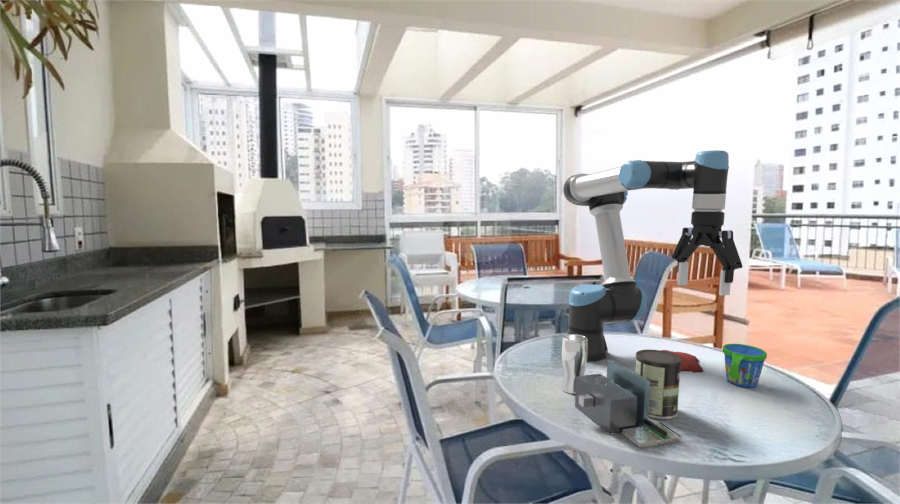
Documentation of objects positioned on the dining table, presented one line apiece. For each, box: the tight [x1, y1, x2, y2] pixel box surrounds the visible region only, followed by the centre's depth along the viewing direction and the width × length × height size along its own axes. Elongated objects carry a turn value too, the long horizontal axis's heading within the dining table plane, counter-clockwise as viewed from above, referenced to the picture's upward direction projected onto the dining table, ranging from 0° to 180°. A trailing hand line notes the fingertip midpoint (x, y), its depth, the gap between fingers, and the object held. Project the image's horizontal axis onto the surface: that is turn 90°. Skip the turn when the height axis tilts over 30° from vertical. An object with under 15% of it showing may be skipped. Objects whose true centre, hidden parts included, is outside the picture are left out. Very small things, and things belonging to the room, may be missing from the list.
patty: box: [660, 349, 704, 373], centre depth 144 cm, size 18×14×2 cm
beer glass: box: [561, 333, 588, 395], centre depth 121 cm, size 7×7×15 cm
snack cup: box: [722, 343, 768, 388], centre depth 127 cm, size 16×10×10 cm
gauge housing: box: [574, 373, 682, 449], centre depth 104 cm, size 20×14×8 cm, turn 16°
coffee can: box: [634, 349, 681, 420], centre depth 110 cm, size 10×10×14 cm
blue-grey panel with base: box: [579, 359, 667, 436], centre depth 103 cm, size 20×13×11 cm, turn 16°
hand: (702, 289), depth 118 cm, fingers open, 13 cm apart
